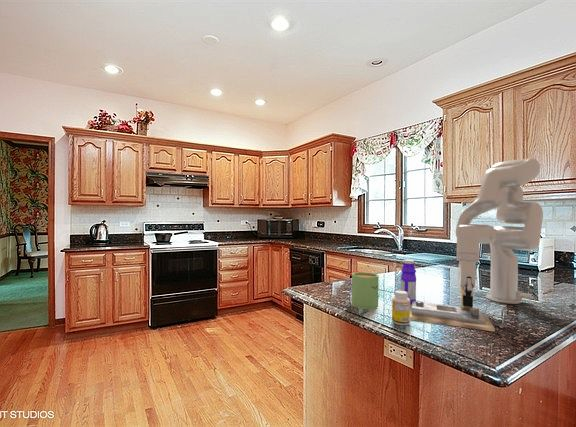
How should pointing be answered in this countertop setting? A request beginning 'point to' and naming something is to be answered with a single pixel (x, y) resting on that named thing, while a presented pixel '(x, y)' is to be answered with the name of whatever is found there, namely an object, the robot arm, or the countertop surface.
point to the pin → (462, 300)
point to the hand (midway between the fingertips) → (467, 304)
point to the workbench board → (454, 322)
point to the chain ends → (447, 312)
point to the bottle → (409, 279)
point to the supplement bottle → (401, 308)
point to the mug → (365, 290)
